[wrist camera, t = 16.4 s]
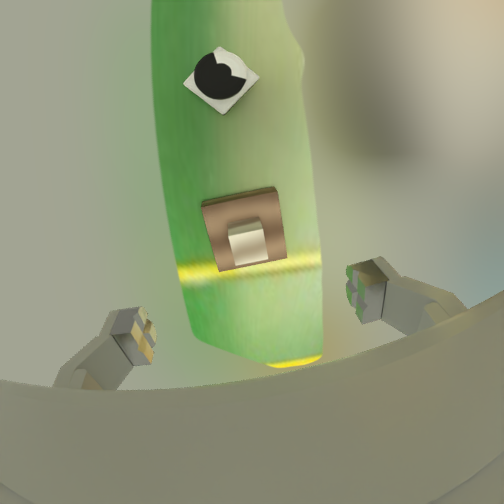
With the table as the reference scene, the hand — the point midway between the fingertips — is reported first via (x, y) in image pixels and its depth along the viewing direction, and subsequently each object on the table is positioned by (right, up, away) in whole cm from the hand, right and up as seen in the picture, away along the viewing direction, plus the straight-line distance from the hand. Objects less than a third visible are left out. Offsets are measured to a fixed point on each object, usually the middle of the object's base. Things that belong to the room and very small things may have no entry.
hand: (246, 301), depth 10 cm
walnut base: (-1, +6, +37) cm, 37 cm away
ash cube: (-1, +5, +34) cm, 34 cm away
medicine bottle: (-4, +27, +25) cm, 37 cm away
